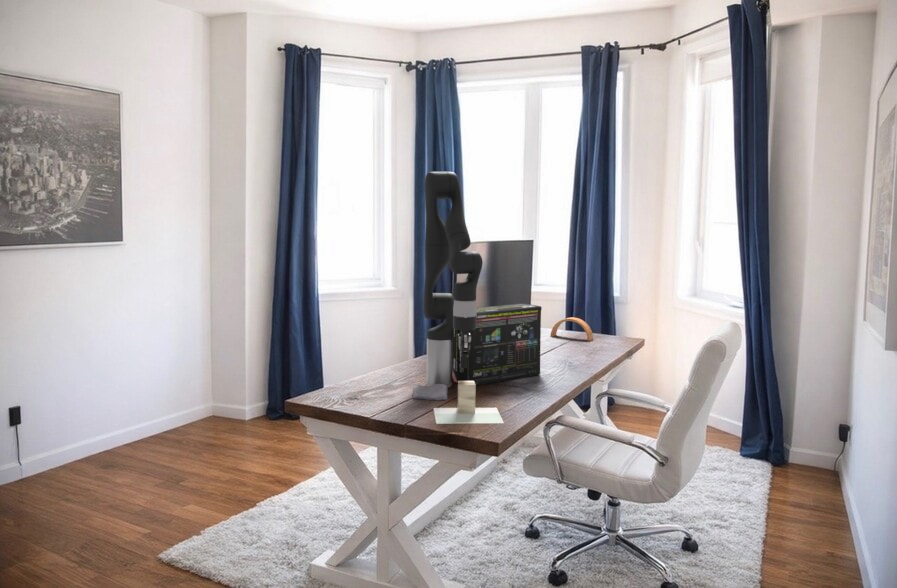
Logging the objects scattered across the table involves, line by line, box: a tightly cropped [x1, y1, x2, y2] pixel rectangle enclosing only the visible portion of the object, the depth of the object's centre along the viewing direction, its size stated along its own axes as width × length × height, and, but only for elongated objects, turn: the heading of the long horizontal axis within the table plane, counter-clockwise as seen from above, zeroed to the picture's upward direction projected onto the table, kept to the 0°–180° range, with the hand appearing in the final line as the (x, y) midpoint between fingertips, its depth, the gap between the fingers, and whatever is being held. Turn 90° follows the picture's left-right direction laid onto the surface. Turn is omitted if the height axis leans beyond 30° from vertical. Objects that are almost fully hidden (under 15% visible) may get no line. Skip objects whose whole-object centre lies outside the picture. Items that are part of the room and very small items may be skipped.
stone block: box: [412, 384, 448, 401], centre depth 238 cm, size 12×5×10 cm
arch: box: [549, 317, 594, 342], centre depth 349 cm, size 6×20×10 cm, turn 60°
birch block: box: [457, 381, 477, 413], centre depth 221 cm, size 5×5×9 cm
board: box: [433, 407, 505, 425], centre depth 217 cm, size 16×20×1 cm
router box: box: [452, 302, 543, 386], centre depth 265 cm, size 36×11×27 cm, turn 125°
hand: (463, 367), depth 229 cm, fingers closed
